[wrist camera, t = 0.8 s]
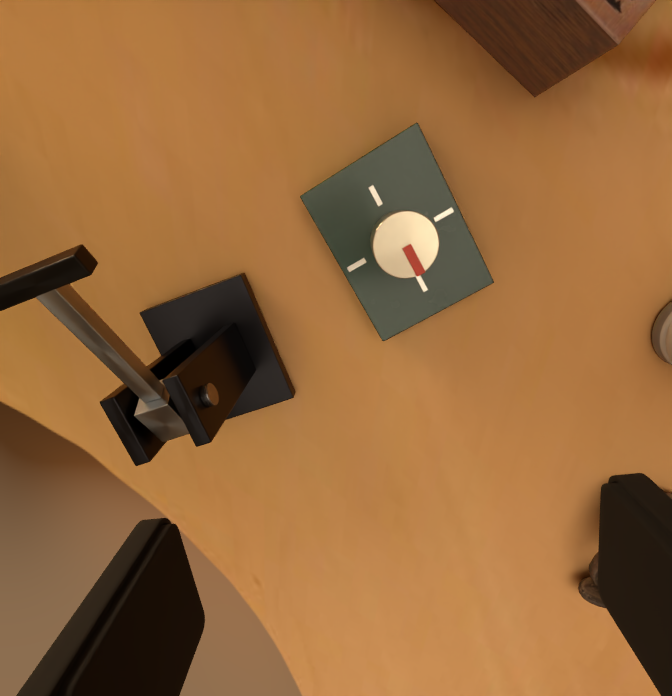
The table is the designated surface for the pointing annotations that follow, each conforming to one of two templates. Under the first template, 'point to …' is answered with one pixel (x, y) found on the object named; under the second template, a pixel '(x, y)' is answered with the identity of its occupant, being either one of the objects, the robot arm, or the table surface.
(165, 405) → the press lever
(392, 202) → the dial panel
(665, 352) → the travel mug
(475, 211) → the table surface
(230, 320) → the black lever stand
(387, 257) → the knob
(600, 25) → the tissue box cover
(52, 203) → the table surface
